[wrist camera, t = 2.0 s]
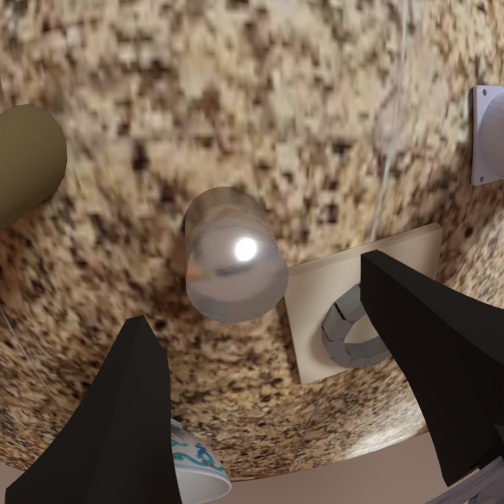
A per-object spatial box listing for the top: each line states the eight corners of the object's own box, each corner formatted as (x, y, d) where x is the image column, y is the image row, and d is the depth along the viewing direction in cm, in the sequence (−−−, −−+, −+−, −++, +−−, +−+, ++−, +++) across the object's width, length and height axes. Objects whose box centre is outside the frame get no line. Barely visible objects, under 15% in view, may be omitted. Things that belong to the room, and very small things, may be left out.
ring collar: (418, 261, 22) (430, 274, 21) (406, 332, 27) (416, 345, 26) (318, 295, 22) (327, 312, 21) (324, 364, 27) (331, 379, 25)
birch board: (435, 221, 22) (443, 227, 21) (417, 332, 29) (422, 338, 28) (277, 270, 22) (281, 279, 21) (299, 377, 29) (301, 385, 28)
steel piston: (252, 177, 18) (279, 226, 13) (267, 243, 20) (294, 306, 15) (174, 199, 18) (171, 257, 13) (198, 263, 20) (204, 332, 15)
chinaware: (183, 460, 36) (189, 510, 30) (74, 433, 29) (69, 489, 23) (247, 412, 31) (262, 477, 24) (107, 373, 24) (99, 453, 18)
